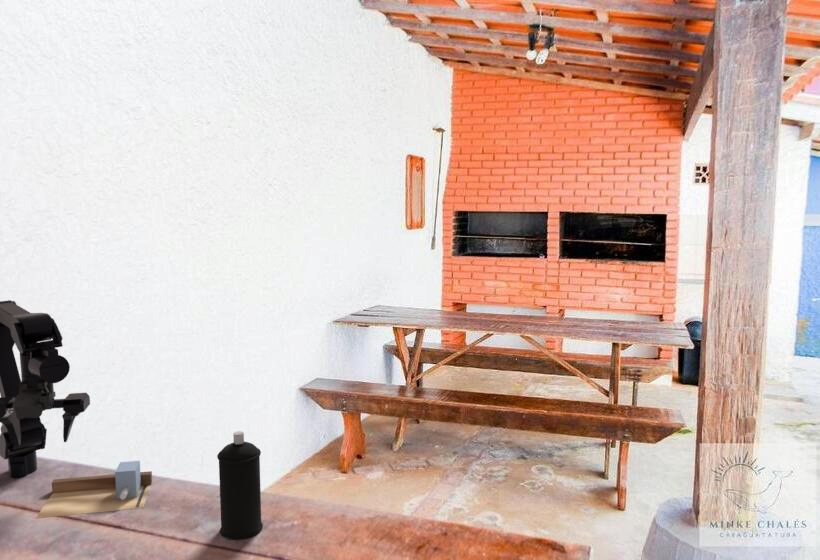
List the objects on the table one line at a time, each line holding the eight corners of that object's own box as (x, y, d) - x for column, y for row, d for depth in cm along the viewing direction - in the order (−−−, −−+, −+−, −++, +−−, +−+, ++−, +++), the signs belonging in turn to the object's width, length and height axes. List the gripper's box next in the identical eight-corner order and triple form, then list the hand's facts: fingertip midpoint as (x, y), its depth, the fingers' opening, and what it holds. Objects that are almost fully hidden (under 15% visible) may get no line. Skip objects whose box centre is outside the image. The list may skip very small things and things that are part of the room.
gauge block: (121, 488, 141) (120, 462, 141) (141, 486, 142) (139, 460, 141) (113, 506, 133) (111, 479, 132) (133, 504, 134) (132, 477, 133)
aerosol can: (253, 542, 123) (250, 442, 120) (212, 538, 125) (208, 439, 122) (269, 520, 131) (266, 426, 128) (230, 516, 133) (227, 423, 130)
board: (54, 496, 140) (53, 479, 140) (152, 488, 145) (151, 471, 144) (36, 524, 129) (34, 506, 128) (143, 514, 133) (142, 496, 133)
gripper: (-30, 387, 127) (-22, 462, 129) (74, 382, 131) (79, 454, 133) (-7, 371, 138) (-1, 441, 140) (88, 367, 142) (92, 434, 144)
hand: (42, 443), depth 139 cm, fingers open, 9 cm apart
